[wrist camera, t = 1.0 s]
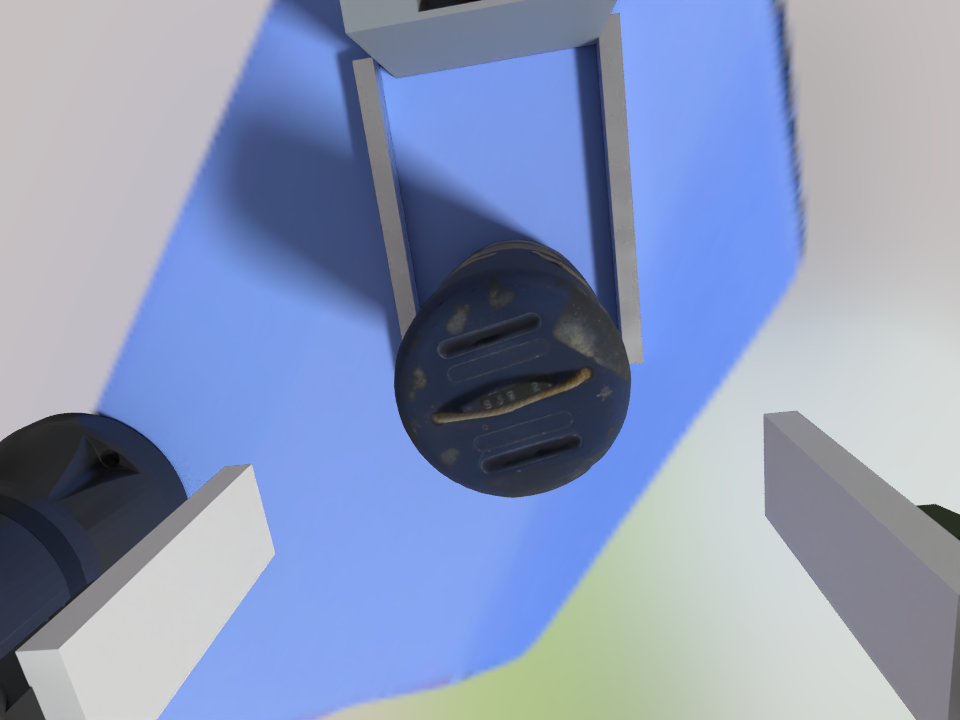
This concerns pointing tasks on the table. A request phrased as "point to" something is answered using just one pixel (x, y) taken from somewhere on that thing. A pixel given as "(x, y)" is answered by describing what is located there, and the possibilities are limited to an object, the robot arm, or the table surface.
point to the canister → (513, 373)
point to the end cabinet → (469, 30)
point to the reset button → (469, 1)
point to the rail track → (615, 173)
